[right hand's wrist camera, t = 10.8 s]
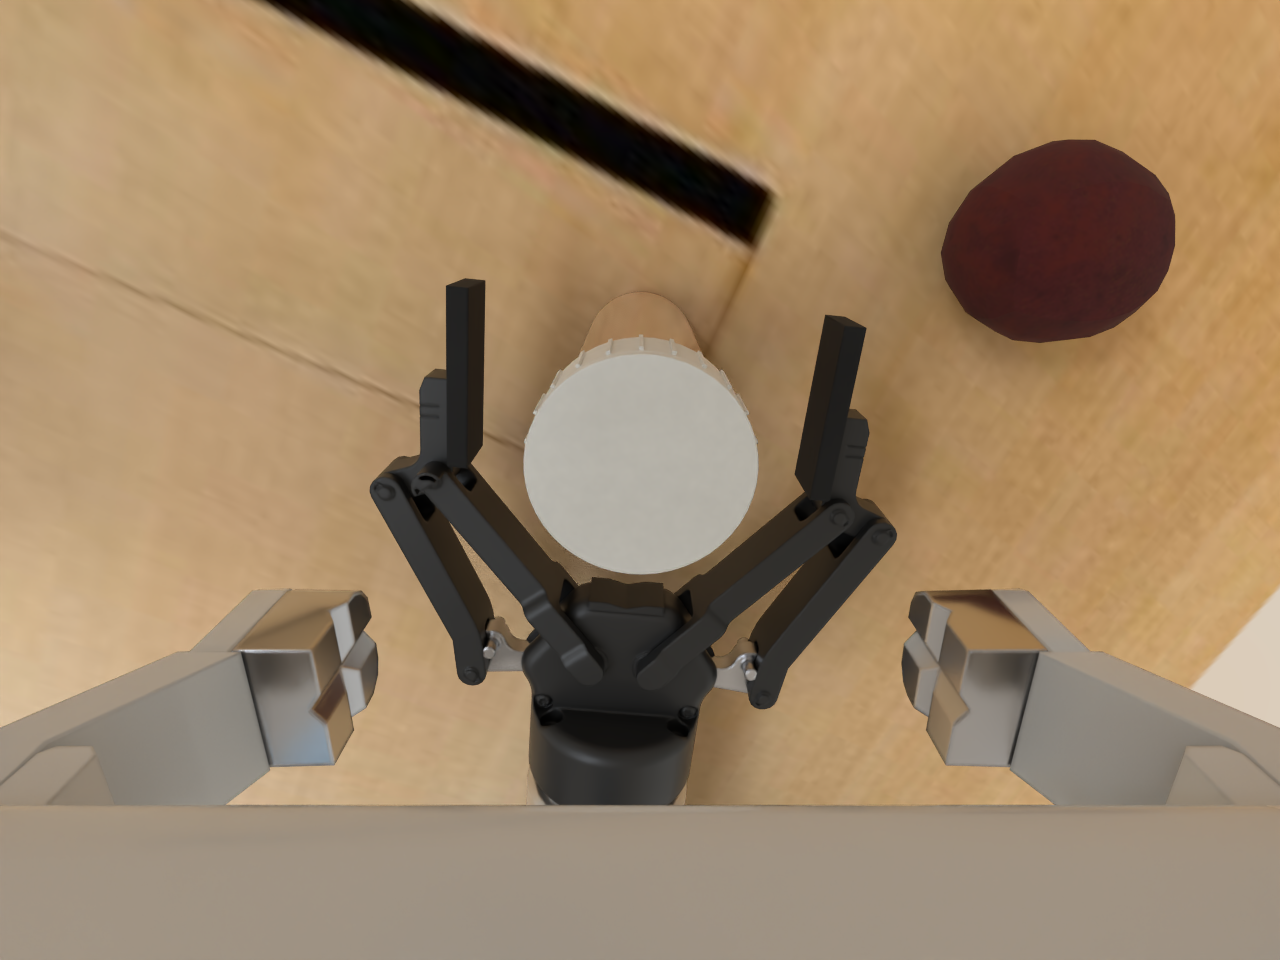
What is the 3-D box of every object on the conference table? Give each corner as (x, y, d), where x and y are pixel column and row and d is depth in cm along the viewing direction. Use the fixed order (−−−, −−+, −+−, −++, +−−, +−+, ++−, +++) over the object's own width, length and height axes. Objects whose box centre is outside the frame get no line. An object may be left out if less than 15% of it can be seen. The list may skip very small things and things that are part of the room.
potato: (1084, 319, 31) (1203, 349, 25) (911, 334, 31) (982, 366, 25) (1111, 139, 28) (1252, 117, 22) (921, 156, 29) (1005, 139, 22)
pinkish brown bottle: (709, 373, 32) (768, 512, 17) (614, 413, 33) (592, 579, 18) (669, 273, 31) (696, 332, 16) (569, 318, 31) (506, 414, 16)
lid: (777, 493, 19) (794, 528, 17) (588, 566, 20) (582, 608, 18) (701, 297, 17) (709, 309, 15) (496, 387, 18) (476, 410, 16)
